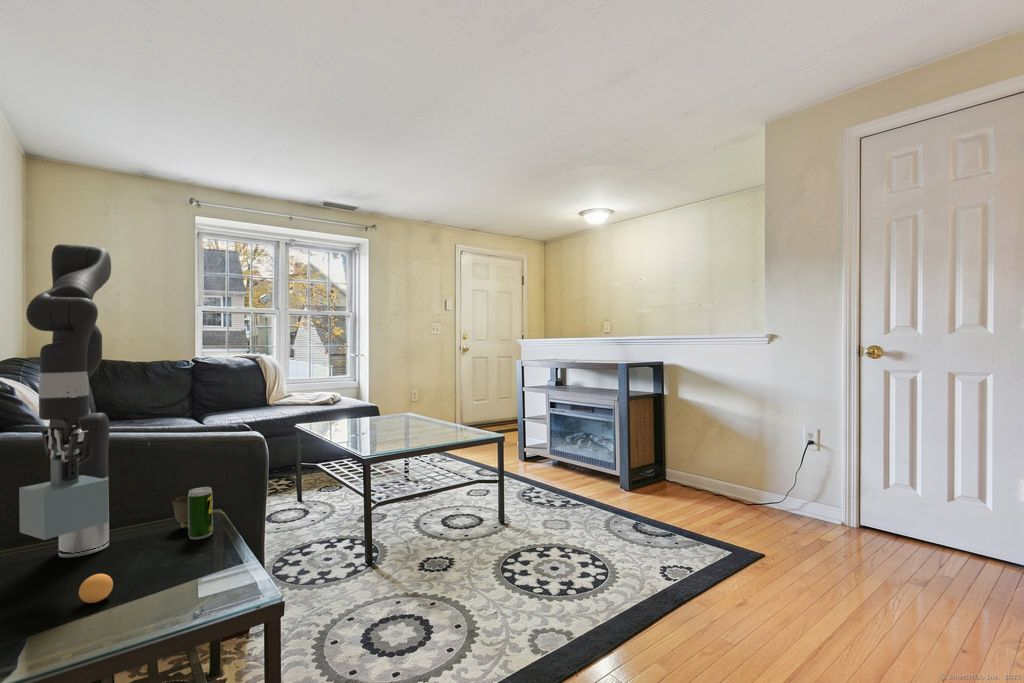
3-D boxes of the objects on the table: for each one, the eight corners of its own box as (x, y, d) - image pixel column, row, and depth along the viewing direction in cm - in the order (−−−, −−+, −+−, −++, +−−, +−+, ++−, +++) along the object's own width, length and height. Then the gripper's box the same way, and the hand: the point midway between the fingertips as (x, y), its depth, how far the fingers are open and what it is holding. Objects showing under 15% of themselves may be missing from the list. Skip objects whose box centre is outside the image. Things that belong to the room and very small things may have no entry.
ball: (73, 604, 92) (73, 578, 92) (104, 592, 96) (104, 567, 96) (87, 610, 90) (86, 583, 90) (118, 597, 94) (118, 571, 94)
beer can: (188, 541, 122) (187, 493, 122) (188, 535, 126) (187, 489, 126) (213, 536, 125) (212, 490, 125) (212, 530, 129) (212, 485, 129)
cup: (183, 522, 136) (182, 494, 136) (210, 521, 137) (210, 492, 137) (166, 532, 129) (166, 502, 129) (195, 531, 129) (195, 501, 129)
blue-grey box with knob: (19, 532, 96) (19, 462, 96) (83, 515, 105) (82, 452, 105) (44, 540, 91) (43, 466, 92) (108, 522, 101) (107, 455, 101)
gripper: (23, 395, 98) (24, 480, 98) (58, 397, 92) (58, 487, 92) (70, 392, 105) (70, 471, 105) (104, 393, 99) (105, 477, 99)
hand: (65, 478), depth 98 cm, fingers closed on blue-grey box with knob, 3 cm apart
